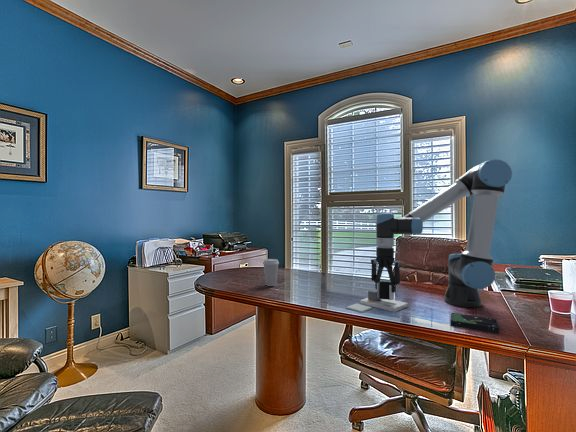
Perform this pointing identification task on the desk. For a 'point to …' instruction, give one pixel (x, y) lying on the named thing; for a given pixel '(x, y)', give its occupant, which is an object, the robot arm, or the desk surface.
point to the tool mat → (359, 307)
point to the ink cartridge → (384, 289)
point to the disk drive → (474, 323)
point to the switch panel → (385, 304)
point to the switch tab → (373, 295)
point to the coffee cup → (271, 271)
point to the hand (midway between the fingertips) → (385, 298)
